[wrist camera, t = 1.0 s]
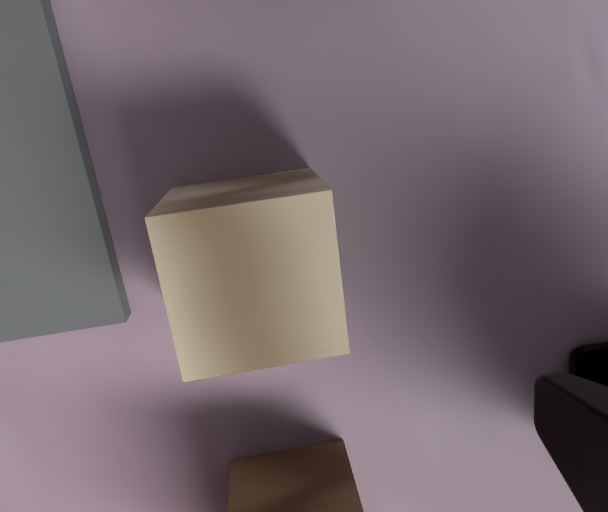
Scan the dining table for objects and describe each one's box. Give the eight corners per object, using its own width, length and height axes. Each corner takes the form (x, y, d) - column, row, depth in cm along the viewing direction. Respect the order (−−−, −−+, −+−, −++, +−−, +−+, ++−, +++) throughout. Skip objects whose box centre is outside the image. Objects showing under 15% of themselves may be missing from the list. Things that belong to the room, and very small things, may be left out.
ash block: (309, 167, 18) (331, 190, 13) (324, 292, 19) (349, 353, 15) (172, 186, 17) (144, 217, 13) (199, 313, 19) (183, 382, 14)
